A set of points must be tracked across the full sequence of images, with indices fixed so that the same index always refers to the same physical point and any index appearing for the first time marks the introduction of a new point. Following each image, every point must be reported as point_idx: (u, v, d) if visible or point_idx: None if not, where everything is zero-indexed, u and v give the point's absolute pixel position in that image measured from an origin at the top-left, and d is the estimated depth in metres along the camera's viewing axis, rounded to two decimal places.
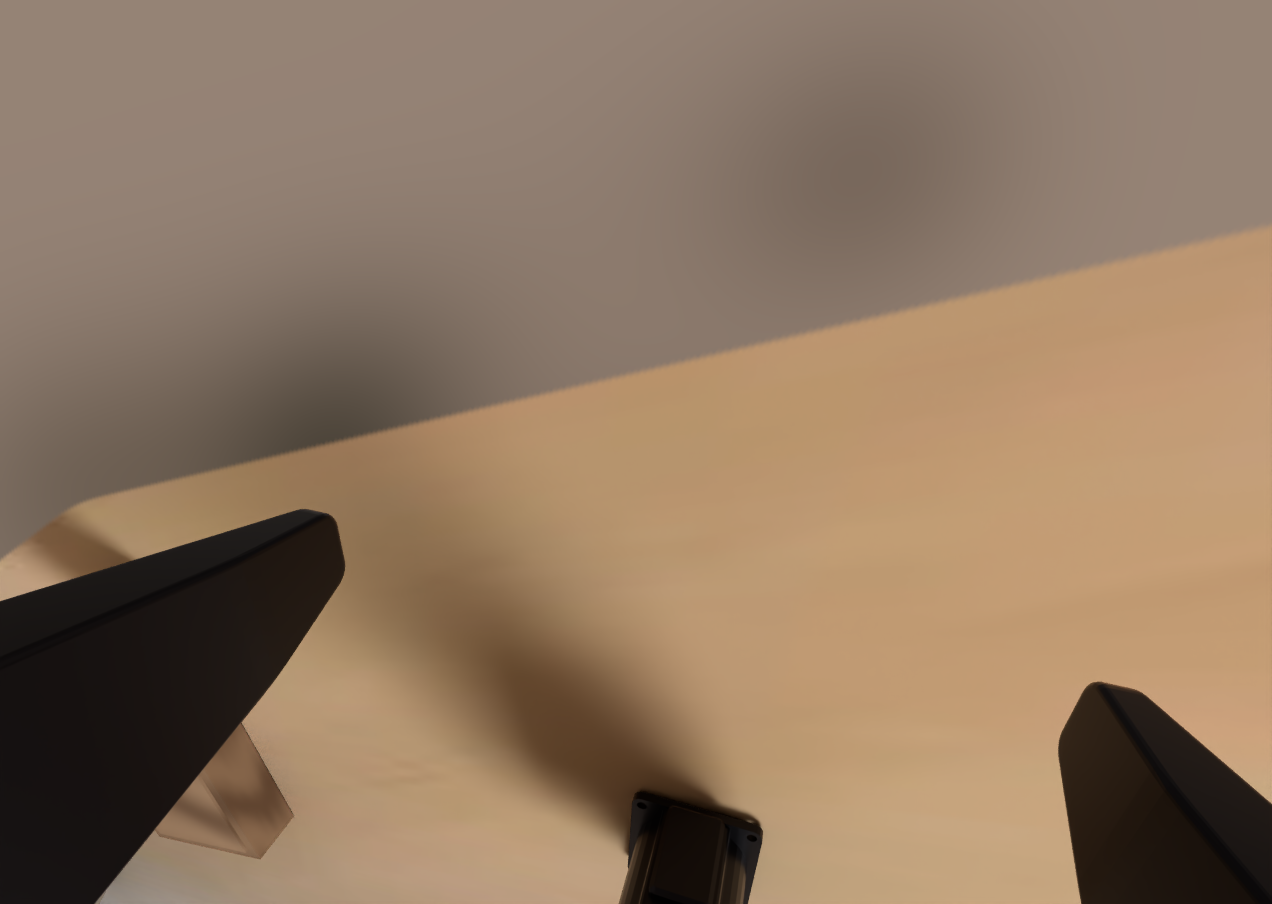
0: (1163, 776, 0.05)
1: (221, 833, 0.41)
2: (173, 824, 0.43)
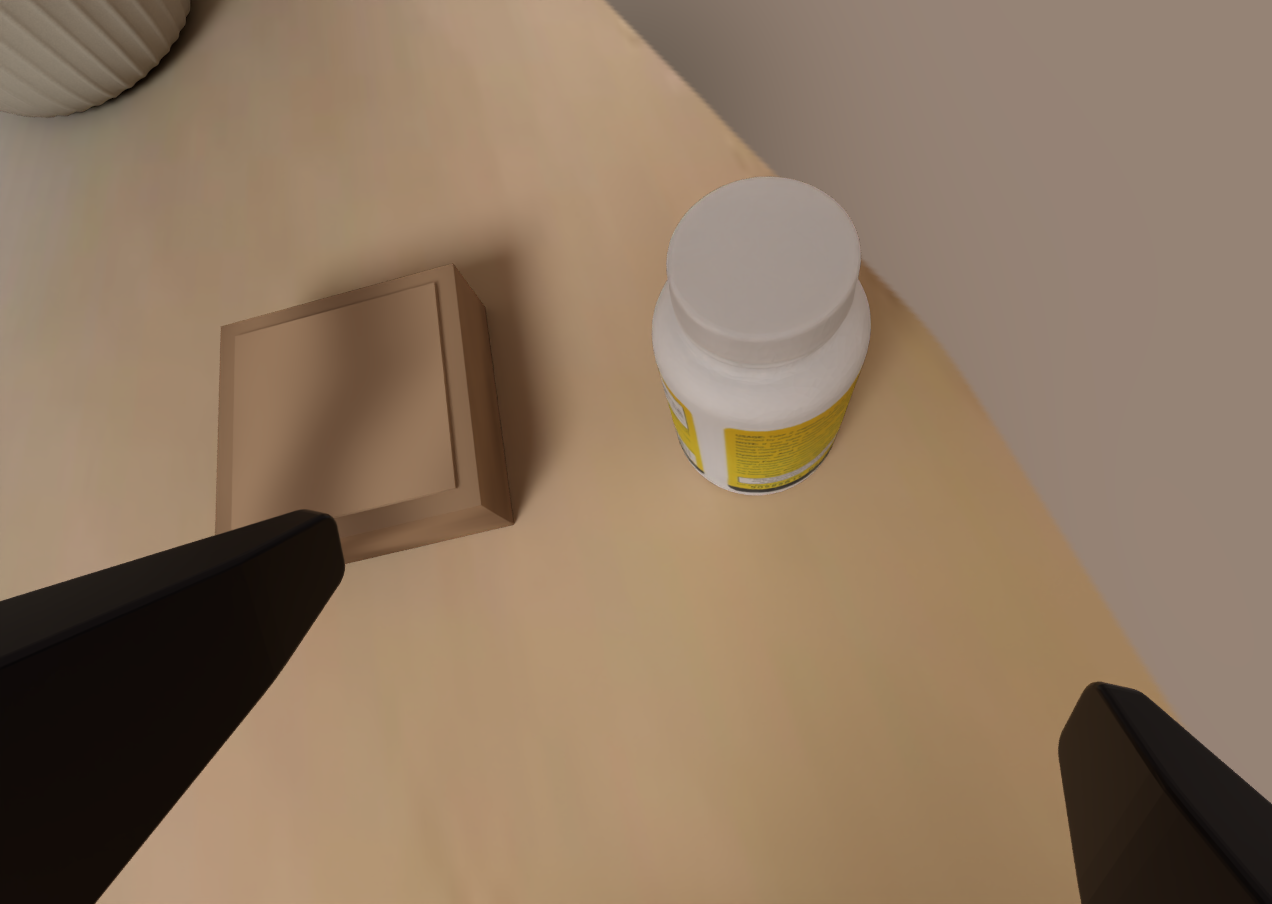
0: (1163, 776, 0.05)
1: (277, 495, 0.21)
2: (270, 377, 0.22)
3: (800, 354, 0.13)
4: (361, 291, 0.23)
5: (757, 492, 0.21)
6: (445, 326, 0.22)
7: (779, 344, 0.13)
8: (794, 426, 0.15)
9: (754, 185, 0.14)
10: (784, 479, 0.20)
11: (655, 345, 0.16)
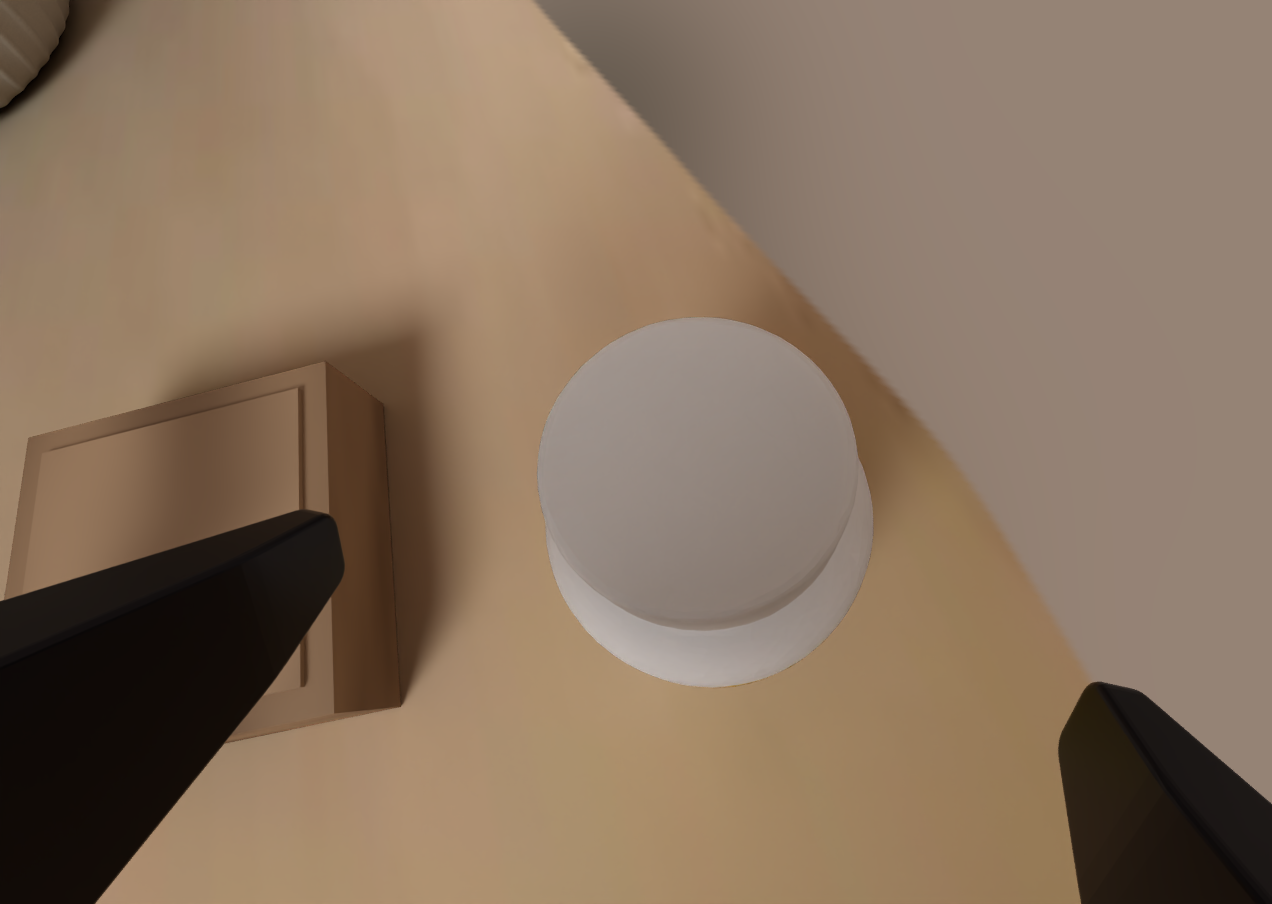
0: (1163, 776, 0.05)
1: None
2: (79, 513, 0.17)
3: (757, 620, 0.08)
4: (207, 395, 0.18)
5: None
6: (309, 448, 0.17)
7: (717, 623, 0.07)
8: (756, 680, 0.10)
9: (684, 332, 0.08)
10: None
11: (547, 545, 0.11)
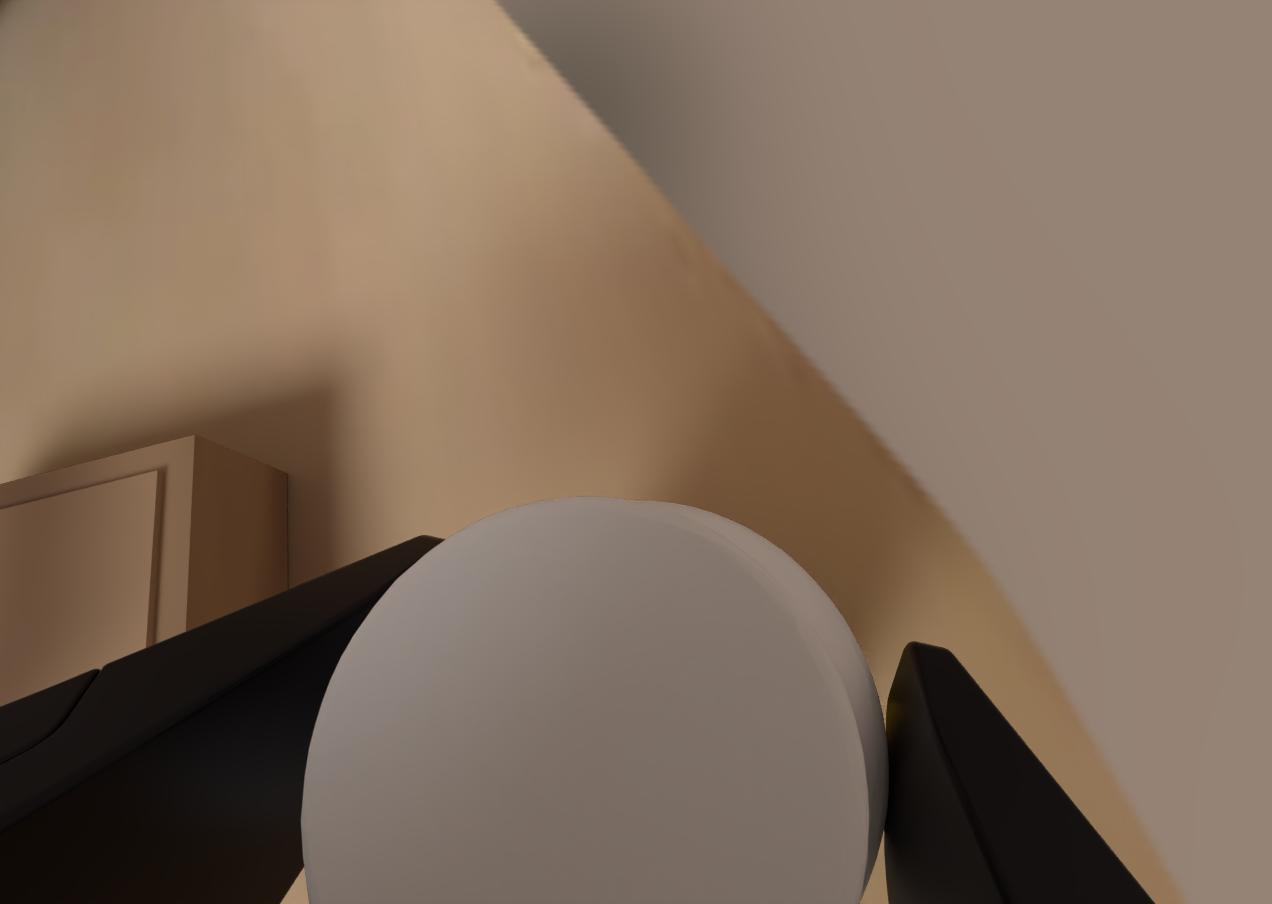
0: (933, 721, 0.06)
1: None
2: None
3: None
4: (50, 477, 0.14)
5: None
6: (167, 550, 0.13)
7: None
8: None
9: (568, 527, 0.05)
10: None
11: None
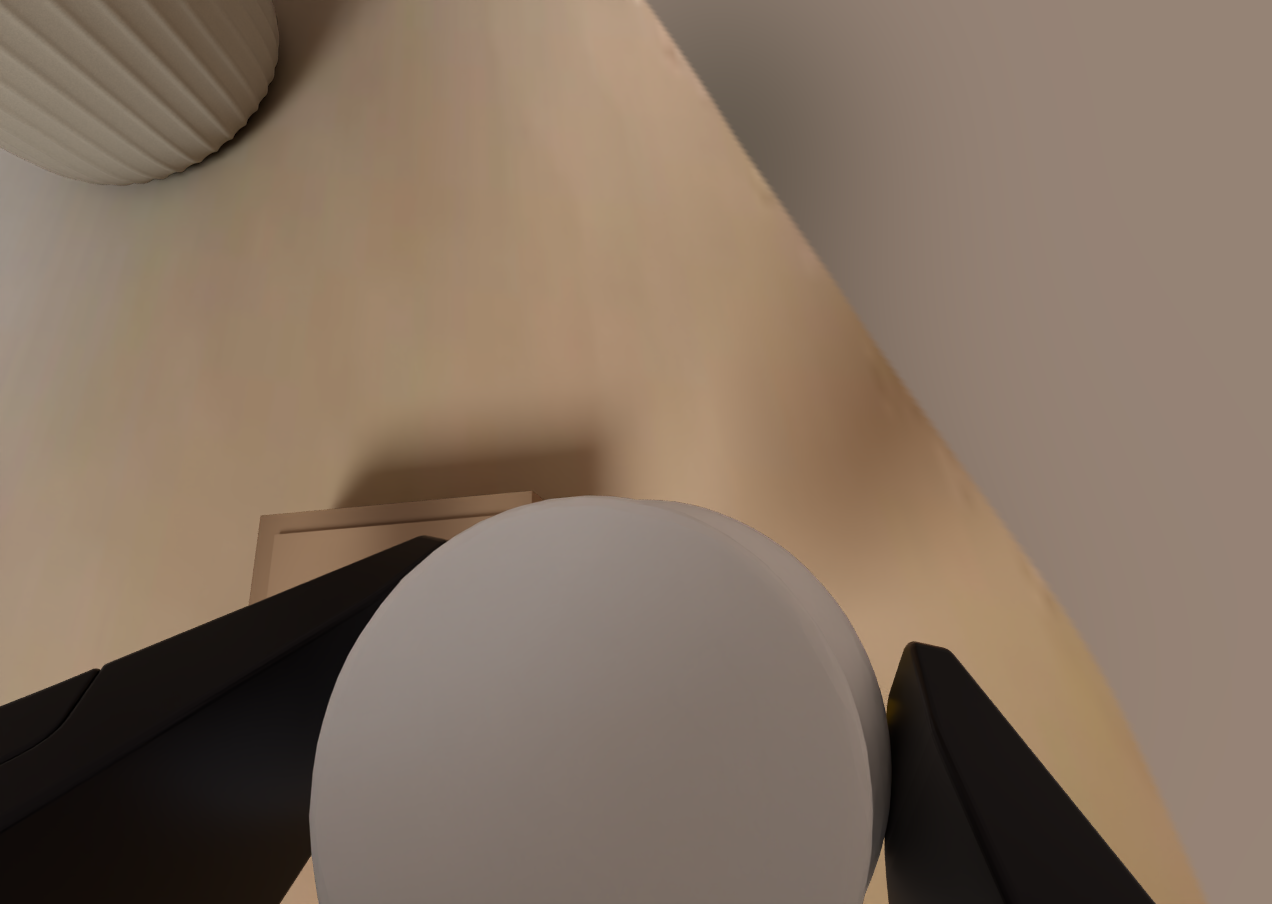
0: (934, 721, 0.06)
1: None
2: None
3: None
4: (423, 504, 0.20)
5: None
6: None
7: None
8: None
9: (573, 526, 0.05)
10: None
11: None
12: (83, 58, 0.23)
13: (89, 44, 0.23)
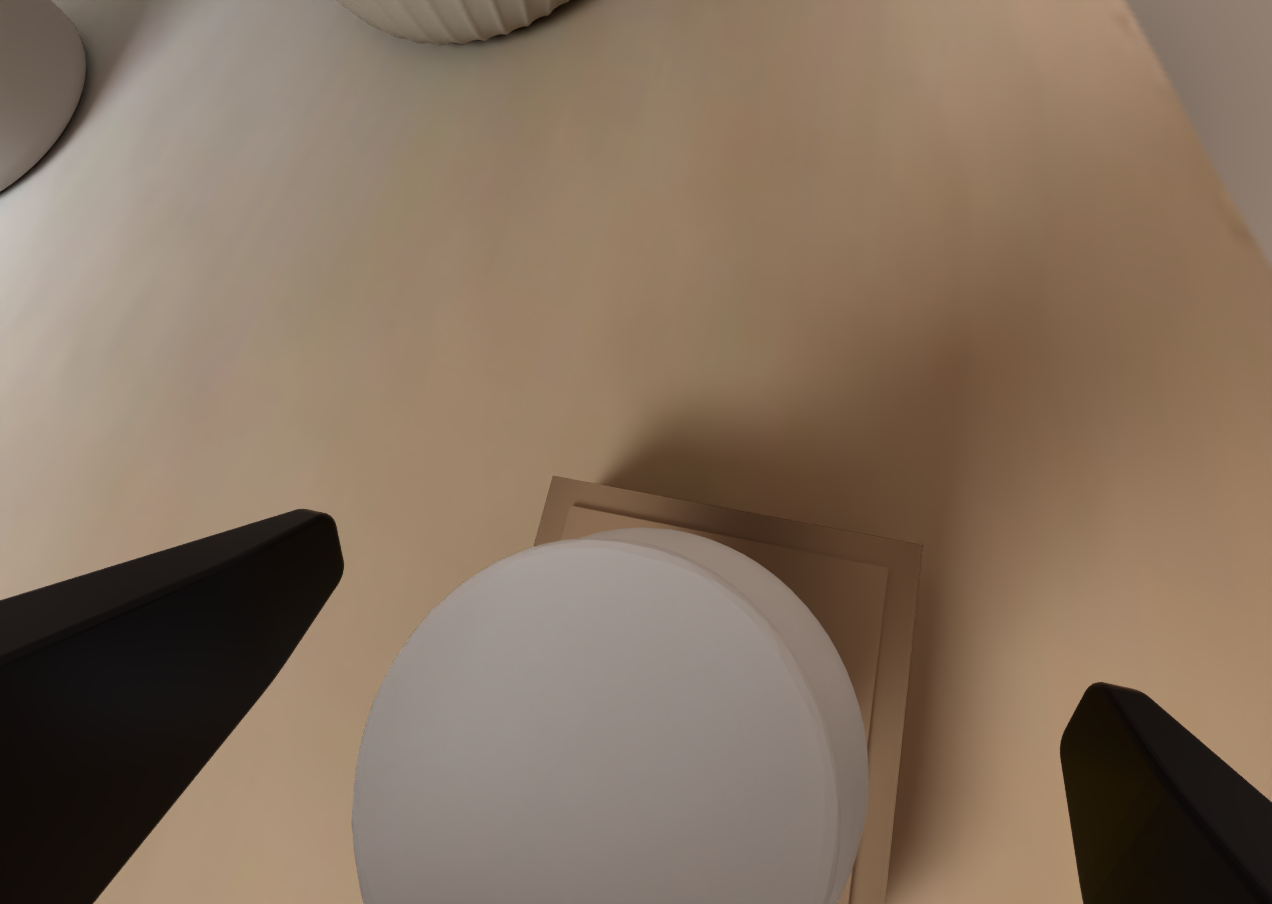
0: (1166, 777, 0.05)
1: None
2: None
3: None
4: (768, 521, 0.15)
5: None
6: (887, 649, 0.14)
7: None
8: None
9: (581, 565, 0.06)
10: None
11: None
12: None
13: None
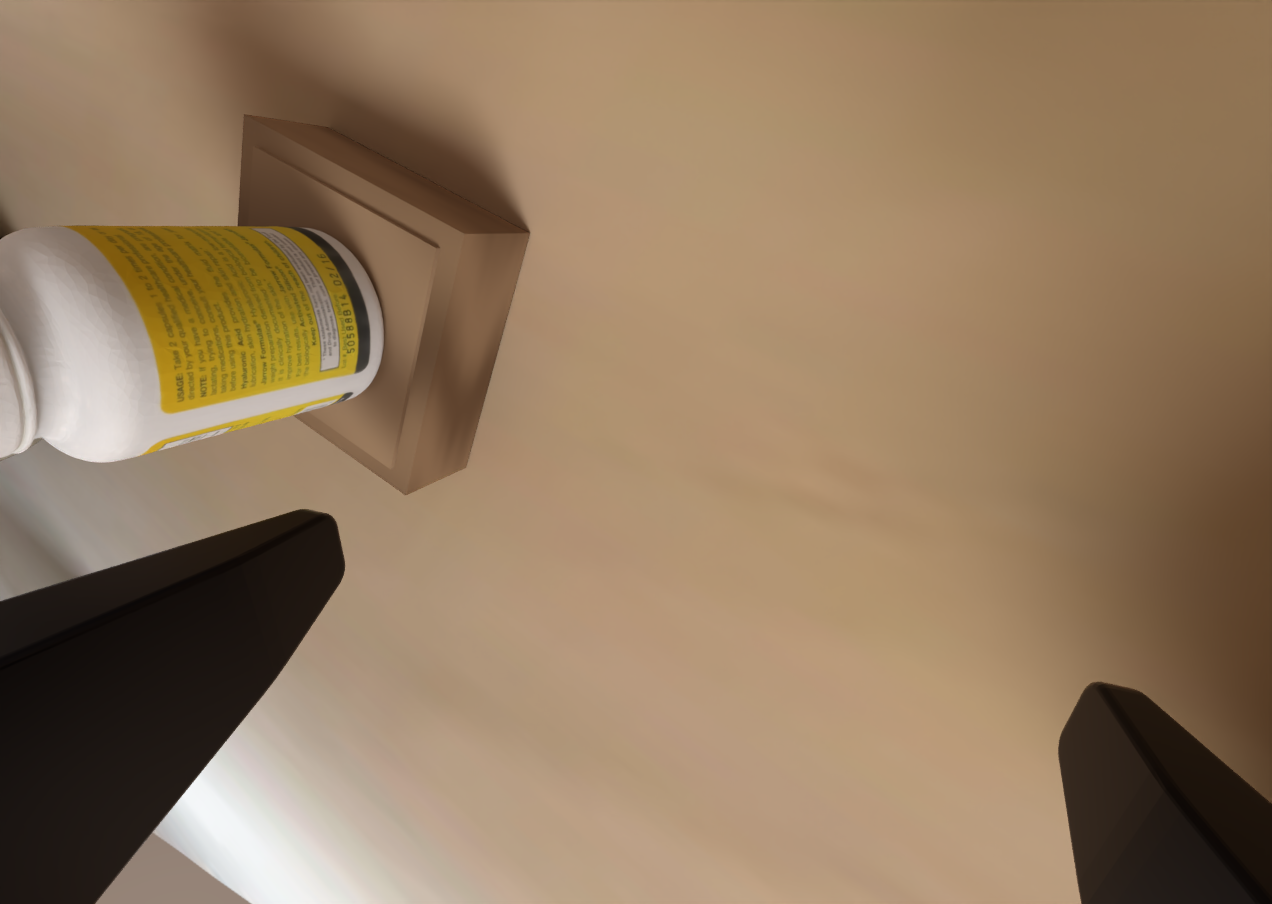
0: (1163, 776, 0.05)
1: (373, 410, 0.21)
2: None
3: None
4: None
5: (369, 342, 0.19)
6: (297, 161, 0.19)
7: None
8: (154, 344, 0.14)
9: None
10: (335, 318, 0.18)
11: (90, 461, 0.15)
12: None
13: None
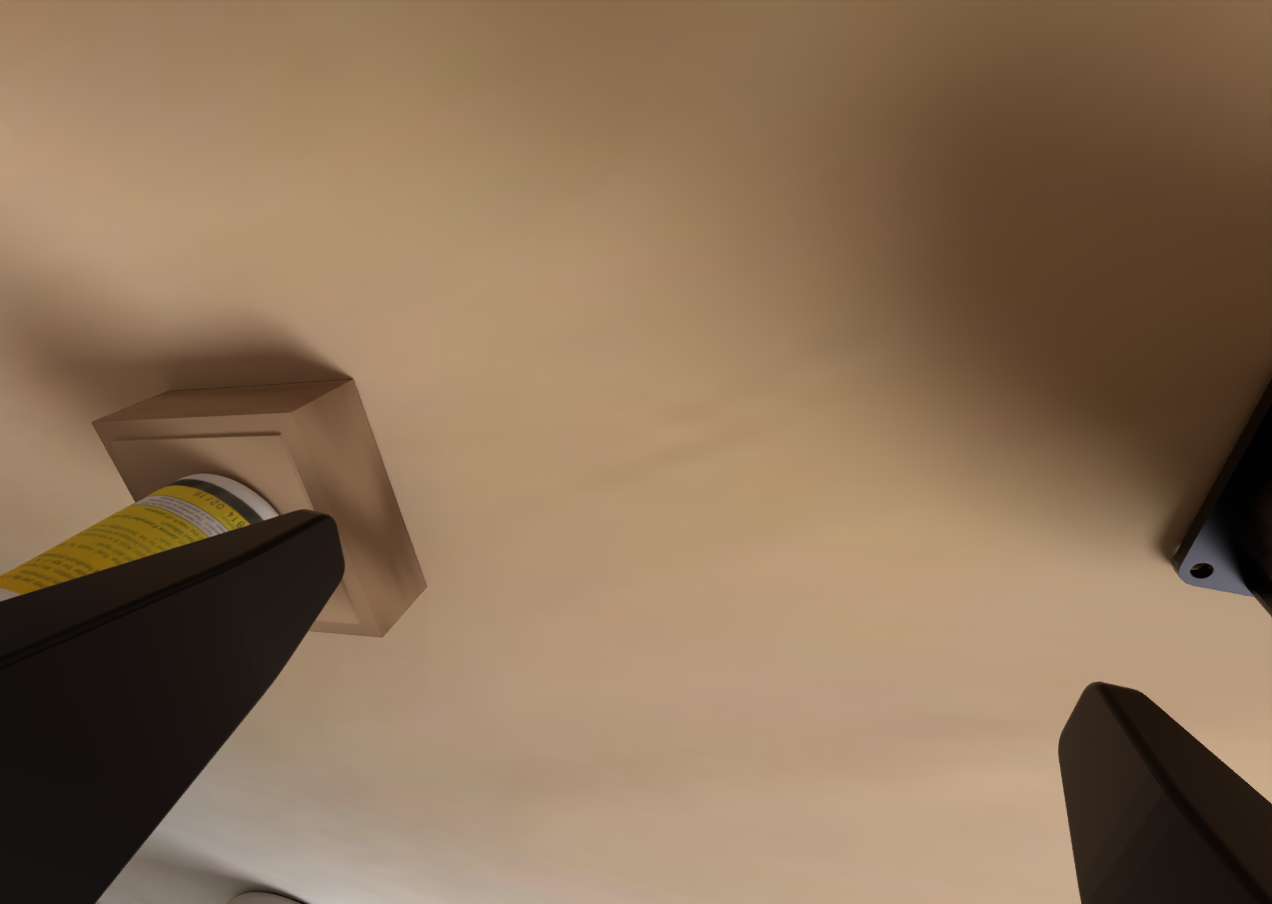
0: (1163, 776, 0.05)
1: None
2: None
3: None
4: None
5: None
6: (147, 433, 0.22)
7: None
8: None
9: None
10: None
11: None
12: None
13: None
